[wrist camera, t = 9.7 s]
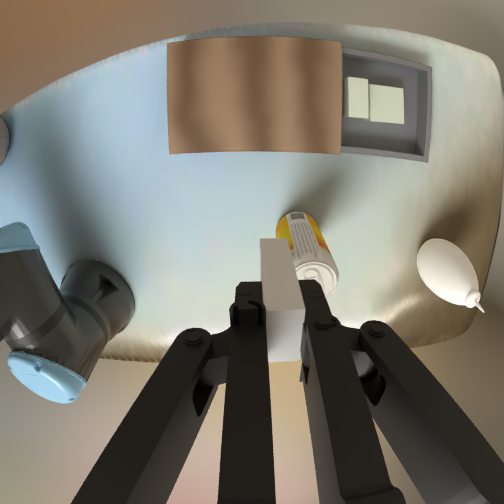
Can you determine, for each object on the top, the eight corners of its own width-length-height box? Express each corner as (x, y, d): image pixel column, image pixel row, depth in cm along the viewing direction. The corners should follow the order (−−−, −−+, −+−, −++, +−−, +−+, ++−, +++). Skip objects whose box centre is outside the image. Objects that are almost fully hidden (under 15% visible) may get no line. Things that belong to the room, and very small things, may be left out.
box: (328, 148, 38) (334, 151, 35) (330, 51, 32) (336, 46, 28) (416, 158, 37) (428, 162, 34) (420, 69, 31) (431, 67, 28)
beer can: (280, 252, 45) (287, 313, 31) (271, 214, 42) (276, 265, 29) (319, 243, 44) (343, 302, 30) (313, 206, 41) (337, 252, 28)
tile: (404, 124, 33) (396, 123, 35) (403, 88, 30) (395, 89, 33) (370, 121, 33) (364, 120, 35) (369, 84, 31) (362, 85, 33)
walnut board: (181, 148, 38) (169, 154, 33) (180, 52, 32) (167, 43, 27) (328, 148, 38) (339, 154, 32) (330, 51, 32) (341, 42, 26)
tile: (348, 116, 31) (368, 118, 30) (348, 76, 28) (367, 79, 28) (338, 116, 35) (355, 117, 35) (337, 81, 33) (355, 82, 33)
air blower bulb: (451, 238, 43) (512, 294, 26) (429, 275, 46) (480, 340, 30) (421, 221, 42) (486, 278, 25) (399, 261, 45) (450, 330, 29)
